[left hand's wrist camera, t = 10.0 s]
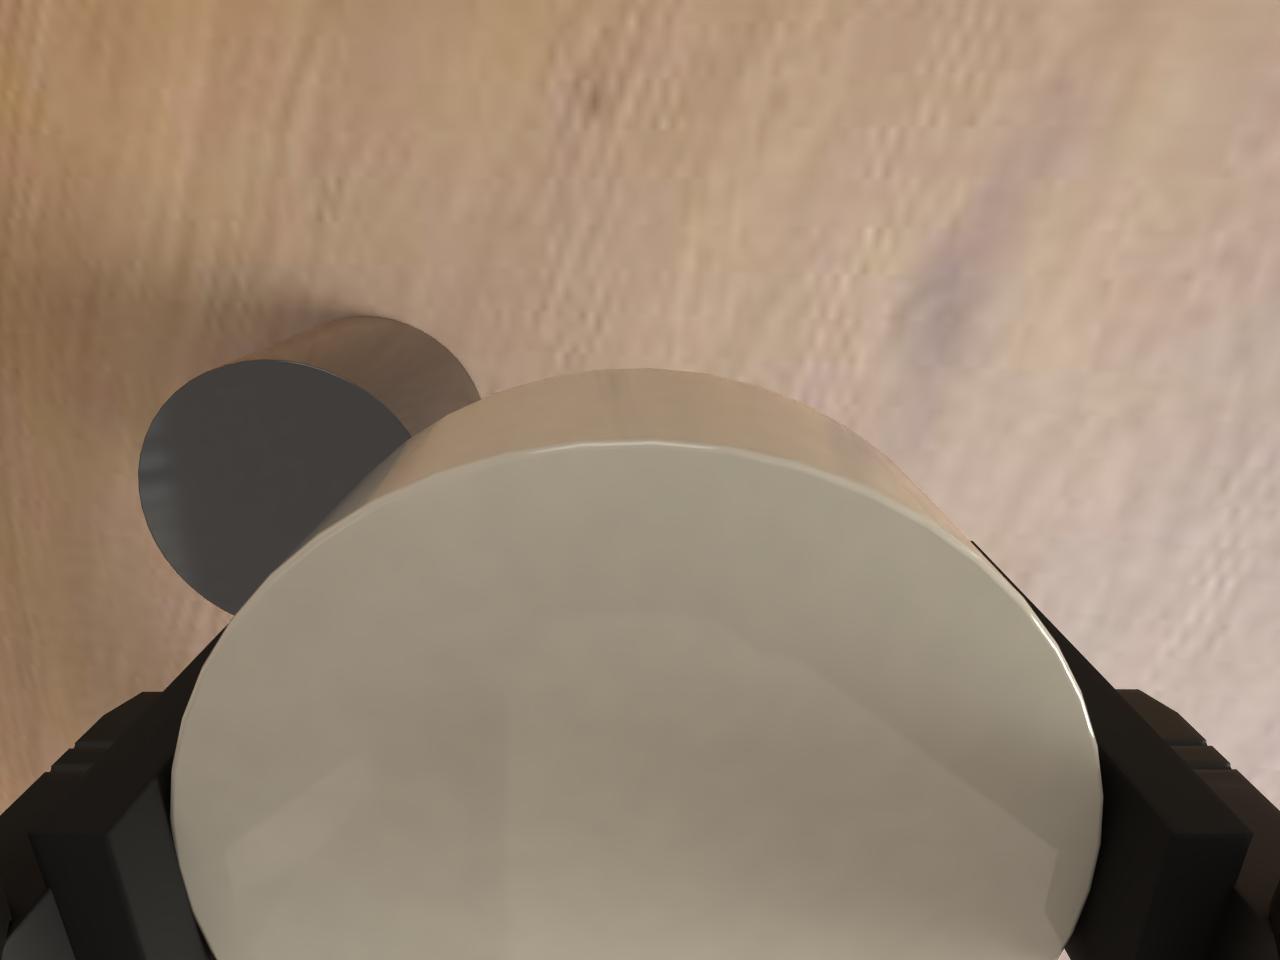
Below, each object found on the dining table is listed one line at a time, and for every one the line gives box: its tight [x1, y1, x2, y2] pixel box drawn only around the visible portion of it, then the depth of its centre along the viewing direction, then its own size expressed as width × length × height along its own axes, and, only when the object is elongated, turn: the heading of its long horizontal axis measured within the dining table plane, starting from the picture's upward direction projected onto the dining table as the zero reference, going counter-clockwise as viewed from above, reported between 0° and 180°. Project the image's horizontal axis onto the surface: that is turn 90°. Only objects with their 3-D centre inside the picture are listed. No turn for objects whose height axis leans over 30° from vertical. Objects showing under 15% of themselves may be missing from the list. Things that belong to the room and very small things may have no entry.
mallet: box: [138, 316, 481, 616], centre depth 30 cm, size 24×9×9 cm, turn 1°
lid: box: [170, 368, 1103, 960], centre depth 10 cm, size 10×10×3 cm
